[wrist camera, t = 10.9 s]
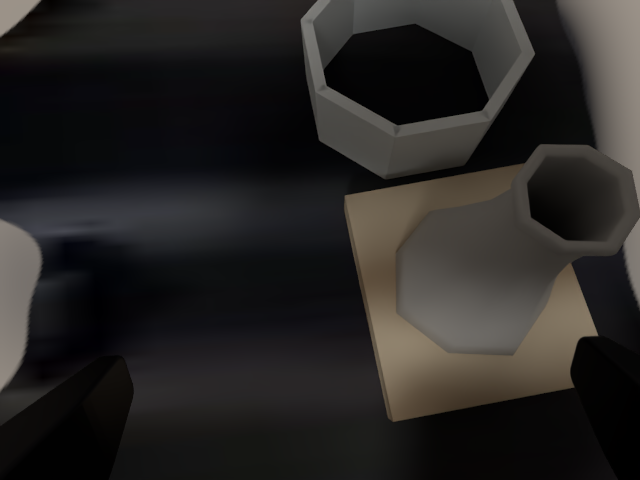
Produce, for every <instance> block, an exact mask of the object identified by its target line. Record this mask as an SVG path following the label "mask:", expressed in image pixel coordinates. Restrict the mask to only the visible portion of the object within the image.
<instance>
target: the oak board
mask: <svg viewBox="0 0 640 480" xmlns="http://www.w3.org/2000/svg"><path fill="white" fill-rule="evenodd" d="M524 164H525V163H524ZM524 164H518V165H513V166H507V167H501V168H496V169H490V170H485V171H479V172H473V173H468V174H462V175H457V176H451V177H446V178H440V179H434V180H429V181H423V182H418V183H412V184H406V185H401V186H395V187H390V188H384V189H379V190H373V191H367V192H362V193H356V194H351V195H345V202H344V212H345V216H346V221H347V226H348V231H349V235H350V240H351V245H352V250H353V254H354V259H355V264H356V268H357V273H358V278H359V283H360V287H361V292H362V297H363V302H364V306H365V311H366V316H367V320H368V325H369V330H370V335H371V339H372V344H373V349H374V354H375V358H376V363H377V368H378V373H379V377H380V382H381V387H382V391H383V396H384V401H385V406H386V410H387V415H388V418H389V419H390V420H392V421H393V422H395V421H400V420H405V419H411V418H416V417H421V416H426V415H432V414H437V413H442V412H447V411H453V410H458V409H463V408H468V407H474V406H479V405H484V404H490V403H495V402H500V401H505V400H511V399H516V398H521V397H526V396H532V395H537V394H542V393H547V392H553V391H558V390H563V389H568V388H574V385H573V383H572V380H571V376H570V367H571V363H572V359H573V356H574V352H575V349H576V345H577V342H578V340H579V339H580V338H581V337H584V336H598V334H597V331H596V328H595V326H594V323H593V320H592V318H591V315H590V313H589V310H588V307H587V305H586V302H585V299H584V297H583V294H582V291H581V289H580V286H579V283H578V281H577V278H576V275H575V273H574V270H573V267H572V265H571V263H569V264H568V265H567V266H566V267H565V268H564V269H563V270H562V271H561V272H560V273H559V274H558V276H557V278H556V280H555V282H554V285H553V288H552V291H551V294H550V297H549V300H548V302H547V304H546V306H545V308H544V309H543V311H542V312H541V314H540V315H539V317H538V318H537V320H536V321H535V323H534V324H533V326H532V327H531V329H530V330H529V332H528V334H527V335H526V337H525V338H524V340H523V341H522V343H521V344H520V346H519V347H518V349H517V350H516V352H515V353H514V355H513V356H511V355H484V354H458V353H447V352H446V351H445V350H443V349H442V348H441V347H440V346H438V345H437V344H436V343H434V342H433V341H432V340H431V339H429V338H428V337H427V336H425V335H424V334H423V333H421V332H420V331H419V330H418V329H416V328H415V327H414V326H412V325H411V324H410V323H408V322H407V321H406V320H405V319H403V318H402V317H401V316H399V315H398V314H397V313H396V253H397V252H398V250H399V249H400V248H401V247H402V245H403V244H404V243H405V242H406V240H407V239H408V238H409V236H410V235H411V234H412V233H413V231H414V230H415V229H416V228H417V226H418V225H419V224H420V223H421V221H422V220H423V219H424V217H425V216H426V215H427V214H428V212H429V211H433V210H438V209H445V208H453V207H460V206H464V205H469V204H473V203H478V202H483V201H487V200H492V199H493V198H495V197H497V196H499V195H500V194H502V193H504V192H506V191H507V190H509V189H511V183H512V180H513V179H514V178H515V176H516V175H517V174H518V172H519V171H520V170H521V168H522V167H523V166H524Z"/></svg>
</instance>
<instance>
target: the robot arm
mask: <svg viewBox="0 0 640 480" xmlns="http://www.w3.org/2000/svg"><path fill="white" fill-rule="evenodd" d="M570 376H571V380H572V383H573V385H574V387H575V389H576V392H577V394H578V396H579V399H580V401H581V403H582V405H583V408H584V410H585V412H586V414H587V417H588V419H589V421H590V423H591V426H592V428H593V430H594V433H595V435H596V437H597V439H598V442H599V444H600V446H601V448H602V450H603V452H604V454H605V456H606V458H607V460H608V462H609V464H610V466H611V467H612V469H613V471H614V473H615V475H616V476H617V478H618V480H640V355H639V354H637V353H635V352H634V351H632V350H630V349H628V348H626V347H624V346H622V345H620V344H618V343H616V342H614V341H613V340H611V339H609V338H607V337H604V336H584V337H581V338H580V339H579V340H578V342H577V345H576V349H575V352H574V356H573V359H572V363H571V367H570ZM133 394H134V388H133V383H132V380H131V377H130V374H129V371H128V368H127V365H126V362H125V360H124V358H123V357H122V356H118V355H115V356H101V357H99V358H97V359H96V360H94V361H93V362H91V363H90V364H88V365H87V366H86V367H84V368H83V369H81V370H80V371H78V372H77V373H76V374H74V375H73V376H71V377H70V378H68V379H67V380H66V381H64V382H63V383H61V384H60V385H58V386H57V387H56V388H54V389H53V390H51V391H50V392H48V393H47V394H46V395H44V396H43V397H41V398H40V399H38V400H37V401H36V402H34V403H33V404H31V405H30V406H28V407H27V408H26V409H24V410H23V411H21V412H20V413H18V414H17V415H16V416H14V417H13V418H11V419H10V420H8V421H7V422H5V423H4V424H3V425H1V426H0V480H108V479H109V477H110V474H111V471H112V468H113V465H114V462H115V458H116V455H117V451H118V448H119V444H120V441H121V437H122V434H123V430H124V427H125V423H126V420H127V417H128V413H129V410H130V406H131V403H132V399H133Z"/></svg>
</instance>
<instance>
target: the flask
mask: <svg viewBox="0 0 640 480" xmlns="http://www.w3.org/2000/svg"><path fill="white" fill-rule="evenodd" d="M639 218H640V209H639V204H638V199H637V194H636V190H635V184H634V180H633V174H632V171H631V170H629V169H628V168H626V167H624V166H622V165H621V164H619V163H617V162H616V161H614V160H612V159H610V158H609V157H607V156H606V155H604V154H602V153H601V152H599V151H597V150H596V149H594V148H592V147H590V146H589V145H550V144H540V145H539V146H538V147H537V148H536V150H535V151H534V152H533V154H532V155H531V156H530V158H529V159H528V160H527V162H526V163H525V164H524V166H523V167H522V168H521V170H520V171H519V172H518V174H517V175H516V176H515V178H514V179H513V180H512V183H511V189H509V190H507V191H506V192H504V193H502V194H500V195H499V196H497V197H495V198H493V199H492V200H487V201H483V202H478V203H473V204H469V205H464V206H460V207H453V208H445V209H438V210H433V211H429V212H428V214H427V215H426V216H425V217H424V219H423V220H422V221H421V223H420V224H419V225H418V226H417V228H416V229H415V230H414V231H413V233H412V234H411V235H410V236H409V238H408V239H407V240H406V242H405V243H404V244H403V245H402V247H401V248H400V249H399V250H398V252H397V253H396V313H397V314H398V315H399V316H401V317H402V318H403V319H405V320H406V321H407V322H408V323H410V324H411V325H412V326H414V327H415V328H416V329H418V330H419V331H420V332H421V333H423V334H424V335H425V336H427V337H428V338H429V339H431V340H432V341H433V342H434V343H436V344H437V345H438V346H440V347H441V348H442V349H443V350H445V351H446V352H447V353H458V354H484V355H511V356H513V355H514V353H515V352H516V350H517V349H518V347H519V346H520V344H521V343H522V341H523V340H524V338H525V337H526V335H527V334H528V332H529V330H530V329H531V327H532V326H533V324H534V323H535V321H536V320H537V318H538V317H539V315H540V314H541V312H542V311H543V309H544V308H545V306H546V304H547V302H548V300H549V297H550V294H551V291H552V288H553V285H554V282H555V280H556V278H557V276H558V274H559V273H560V272H561V271H562V270H563V269H564V268H565V267H566V266H567V265H568V264H569V263H571V262H572V261H574V260H576V259H578V258H580V257H582V256H612V255H614V254H616V253H617V252H618V251H619V249H620V247H621V246H622V244H623V243H624V241H625V240H626V238H627V236H628V235H629V233H630V232H631V230H632V229H633V227H634V226H635V224H636V222H637V221H638V219H639Z"/></svg>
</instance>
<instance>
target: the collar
mask: <svg viewBox="0 0 640 480" xmlns="http://www.w3.org/2000/svg"><path fill="white" fill-rule="evenodd" d="M409 24H417V25H419V26H421V27H423V28H425V29H427V30H429V31H431V32H433V33H435V34H437V35H439V36H441V37H443V38H445V39H447V40H449V41H451V42H453V43H455V44H457V45H459V46H462V47H464V48H466V49H468V50H470V51H472V54H473V56H474V59H475V62H476V65H477V68H478V70H479V73H480V76H481V79H482V81H483V84H484V87H485V90H486V93H487V95H488V98H489V101H488V103H487V104H486V106H485V107H484V109H483V110H482V111H479V112H473V113H467V114H462V115H456V116H450V117H445V118H439V119H433V120H428V121H422V122H416V123H411V124H405V125H399V126H397V125H395V124H394V123H392V122H390V121H388V120H386V119H385V118H383V117H381V116H379V115H377V114H376V113H374V112H372V111H370V110H369V109H367V108H365V107H363V106H361V105H360V104H358V103H356V102H354V101H352V100H351V99H349V98H347V97H345V96H343V95H342V94H340V93H338V92H336V91H335V90H333V89H331V88H329V87H327V86H326V81H325V77H324V72H323V70H324V69H325V67H326V66H327V65H328V64H329V63H330V61H331V60H332V59H333V58H334V57H335V55H336V54H337V53H338V52H339V50H340V49H341V48H342V47H343V46H344V44H345V43H346V42H347V41H348V39H349V38H350V37H351V36H352V35H353V34H357V33H363V32H369V31H374V30H380V29H386V28H392V27H398V26H404V25H409ZM301 29H302V39H303V49H304V59H305V69H306V78H307V83H308V88H309V93H310V98H311V103H312V108H313V112H314V117H315V122H316V127H317V132H318V137H319V141H321V142H323V143H324V144H326V145H328V146H329V147H331V148H333V149H335V150H336V151H338V152H340V153H341V154H343V155H345V156H346V157H348V158H350V159H351V160H353V161H355V162H356V163H358V164H360V165H362V166H363V167H365V168H367V169H368V170H370V171H372V172H373V173H375V174H377V175H378V176H380V177H382V178H383V179H392V178H397V177H403V176H408V175H414V174H420V173H425V172H431V171H436V170H442V169H448V168H453V167H459V166H464V165H465V164H466V162H467V161H468V159H469V158H470V156H471V155H472V153H473V152H474V150H475V149H476V147H477V146H478V144H479V143H480V141H481V140H482V138H483V137H484V135H485V134H486V132H487V131H488V129H489V128H490V126H491V124H492V123H493V121H494V120H495V118H496V117H497V115H498V114H499V112H500V111H501V109H502V108H503V106H504V105H505V103H506V101H507V100H508V98H509V96H510V95H511V93H512V91H513V90H514V88H515V86H516V85H517V83H518V81H519V80H520V78H521V76H522V75H523V73H524V71H525V70H526V68H527V67H528V65H529V63H530V62H531V60H532V58H533V57H534V55H535V52H534V50H533V48H532V45H531V43H530V40H529V38H528V36H527V33H526V31H525V28H524V26H523V24H522V21H521V19H520V16H519V14H518V12H517V9H516V7H515V4H514V2H513V0H318V1H317V2H316V3H315V4H314V5H313V6H312V7H311V9H310V10H309V11H308V12H307V13H306V14H305V15H304V17H303V18H302V19H301Z"/></svg>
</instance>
